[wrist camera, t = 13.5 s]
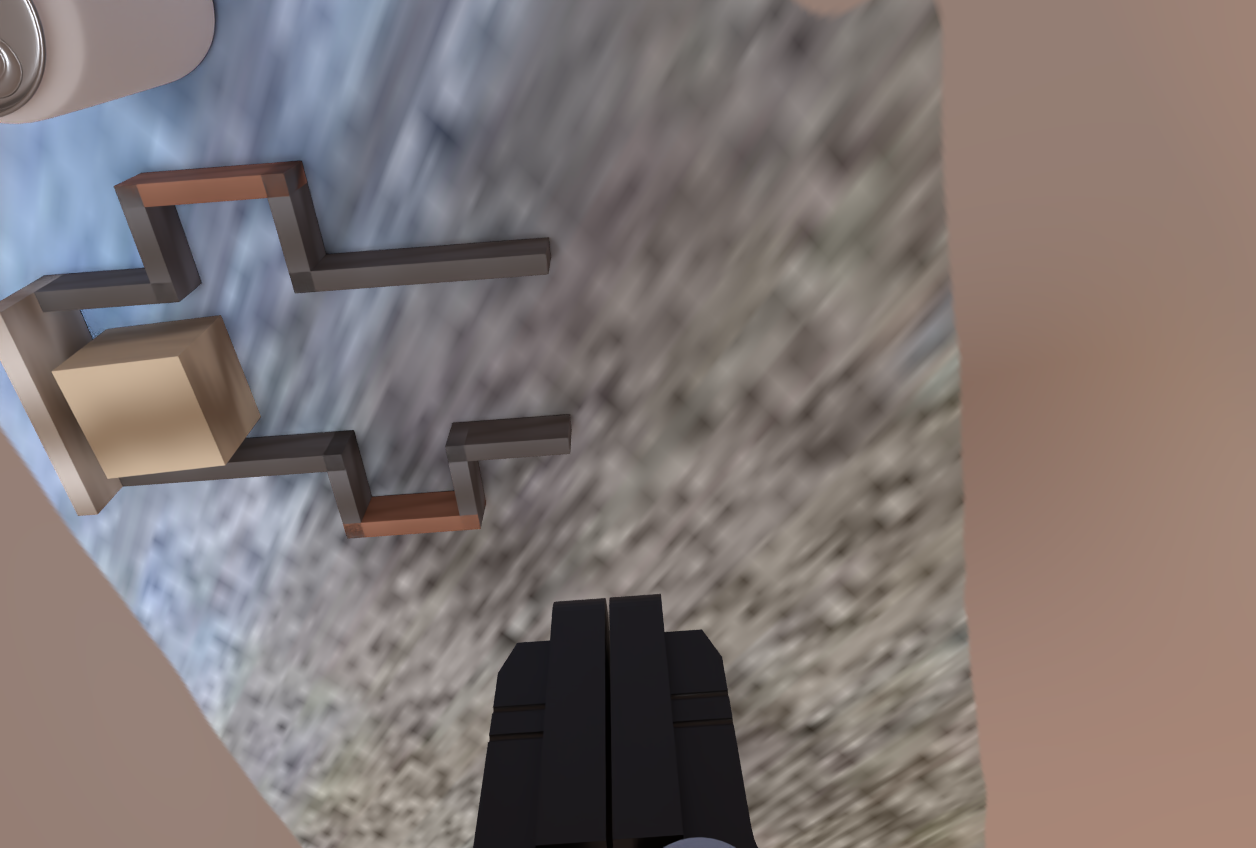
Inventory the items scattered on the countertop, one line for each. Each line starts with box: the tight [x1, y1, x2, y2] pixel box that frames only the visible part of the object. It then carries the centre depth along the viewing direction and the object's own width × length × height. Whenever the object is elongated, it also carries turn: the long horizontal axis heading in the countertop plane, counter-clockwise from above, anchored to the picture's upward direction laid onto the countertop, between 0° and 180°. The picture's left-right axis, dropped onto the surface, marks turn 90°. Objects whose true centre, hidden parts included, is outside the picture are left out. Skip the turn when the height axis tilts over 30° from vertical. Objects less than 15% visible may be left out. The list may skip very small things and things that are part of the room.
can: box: [0, 0, 215, 124], centre depth 29 cm, size 6×6×12 cm
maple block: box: [51, 315, 261, 479], centre depth 41 cm, size 6×6×5 cm
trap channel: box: [0, 161, 572, 539], centre depth 41 cm, size 20×25×5 cm
